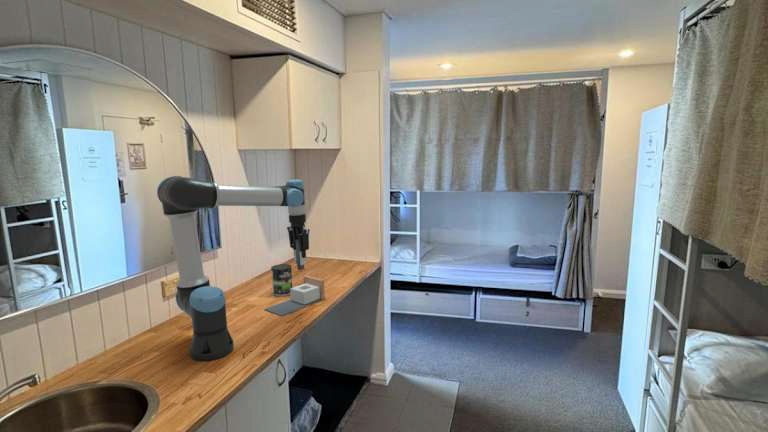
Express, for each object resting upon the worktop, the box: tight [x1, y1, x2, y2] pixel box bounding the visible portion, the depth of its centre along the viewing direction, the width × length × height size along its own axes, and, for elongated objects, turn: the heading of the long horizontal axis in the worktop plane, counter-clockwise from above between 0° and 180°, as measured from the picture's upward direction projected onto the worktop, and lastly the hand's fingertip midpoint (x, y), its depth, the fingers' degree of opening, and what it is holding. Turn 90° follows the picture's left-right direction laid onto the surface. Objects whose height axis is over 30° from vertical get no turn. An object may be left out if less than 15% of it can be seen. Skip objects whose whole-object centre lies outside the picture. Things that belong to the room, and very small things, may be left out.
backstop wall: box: [303, 274, 326, 301], centre depth 207 cm, size 2×13×10 cm, turn 52°
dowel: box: [295, 239, 305, 271], centre depth 190 cm, size 3×3×14 cm
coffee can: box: [270, 263, 293, 297], centre depth 214 cm, size 10×10×14 cm
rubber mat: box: [264, 298, 325, 317], centre depth 198 cm, size 26×13×1 cm, turn 142°
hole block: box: [290, 283, 320, 305], centre depth 202 cm, size 10×10×6 cm
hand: (300, 263), depth 191 cm, fingers closed on dowel, 3 cm apart
